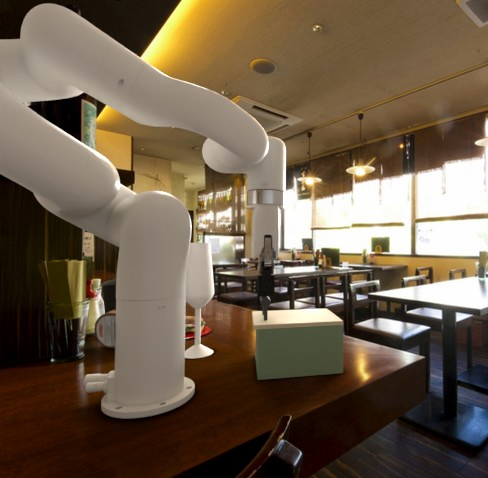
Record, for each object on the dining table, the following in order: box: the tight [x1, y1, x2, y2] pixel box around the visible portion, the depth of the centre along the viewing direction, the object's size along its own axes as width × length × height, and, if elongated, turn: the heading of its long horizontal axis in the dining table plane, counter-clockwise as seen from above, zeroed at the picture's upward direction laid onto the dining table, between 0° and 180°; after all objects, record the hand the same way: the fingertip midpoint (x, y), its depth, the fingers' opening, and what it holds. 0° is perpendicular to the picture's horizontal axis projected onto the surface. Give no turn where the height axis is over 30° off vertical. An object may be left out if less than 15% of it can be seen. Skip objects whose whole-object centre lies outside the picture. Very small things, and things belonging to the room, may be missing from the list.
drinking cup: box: [100, 277, 116, 314], centre depth 85 cm, size 8×8×20 cm
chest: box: [254, 324, 344, 381], centre depth 65 cm, size 16×13×9 cm
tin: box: [94, 310, 116, 349], centre depth 75 cm, size 15×3×8 cm, turn 84°
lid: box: [251, 296, 344, 331], centre depth 65 cm, size 16×13×5 cm
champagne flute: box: [185, 242, 215, 359], centre depth 72 cm, size 7×7×24 cm
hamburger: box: [185, 315, 212, 339], centre depth 88 cm, size 14×14×6 cm
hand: (265, 295), depth 64 cm, fingers closed
